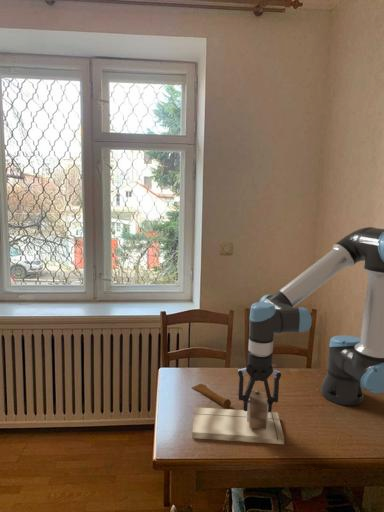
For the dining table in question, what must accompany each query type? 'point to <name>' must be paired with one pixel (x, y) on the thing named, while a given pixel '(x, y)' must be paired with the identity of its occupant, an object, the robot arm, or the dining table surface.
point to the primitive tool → (212, 395)
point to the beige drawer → (258, 410)
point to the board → (234, 426)
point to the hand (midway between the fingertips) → (256, 420)
